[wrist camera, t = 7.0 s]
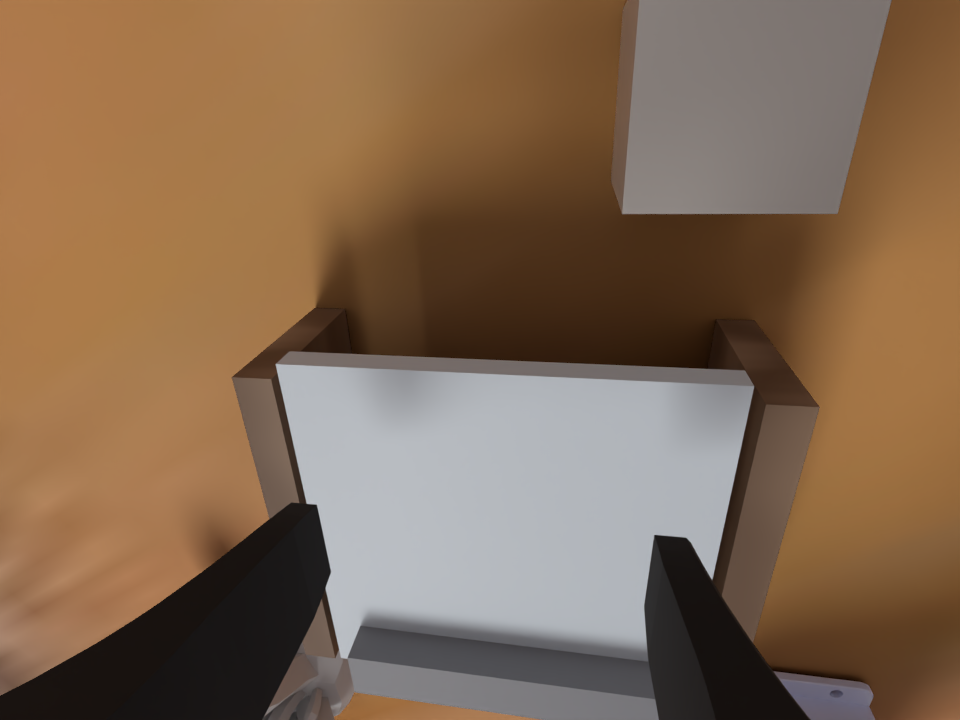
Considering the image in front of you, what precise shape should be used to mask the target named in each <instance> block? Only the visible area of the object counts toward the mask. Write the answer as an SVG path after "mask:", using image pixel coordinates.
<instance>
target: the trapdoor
mask: <svg viewBox="0 0 960 720" xmlns="http://www.w3.org/2000/svg"><path fill="white" fill-rule="evenodd" d="M276 368H277V373H278V377H279V382H280V386H281V391H282V395H283V400H284V404H285V409H286V413H287V418H288V422H289V427H290V431H291V436H292V440H293V445H294V449H295V454H296V458H297V463H298V467H299V472H300V476H301V481H302V485H303V490H304V494H305V498H306V503H307V504H315V505H317V508H318V512H319V517H320V522H321V526H322V531H323V536H324V541H325V545H326V550H327V555H328V559H329V564H330V569H331V574H330V577H329V580H328V582H327V585H326V593H327V597H328V602H329V606H330V611H331V615H332V620H333V624H334V628H335V633H336V637H337V642H338V646H339V651H340V655H341V658H345V659H348V663H349V668H350V672H351V677H352V681H353V686H354V691H355V692H357V693H364V694H370V695H377V696H384V697H391V698H398V699H405V700H412V701H419V702H425V703H432V704H439V705H446V706H453V707H460V708H467V709H474V710H481V711H487V712H494V713H501V714H508V715H515V716H522V717H529V718H536V719H542V720H659V717H658V712H657V706H656V701H655V695H654V690H653V684H652V679H651V673H650V667H649V661H648V653H647V640H646V627H645V613H644V603H645V596H646V589H647V582H648V575H649V568H650V561H651V554H652V547H653V540H654V535H663V536H674V537H685V538H687V539H688V540H689V541H690V542H691V544H692V545H693V547H694V549H695V551H696V553H697V555H698V557H699V558H700V560H701V562H702V564H703V565H704V567H705V569H706V571H707V572H708V574H709V576H710V577H711V579H713V575H714V570H715V565H716V561H717V556H718V552H719V547H720V542H721V538H722V533H723V528H724V524H725V519H726V515H727V510H728V505H729V501H730V496H731V492H732V487H733V482H734V478H735V473H736V468H737V464H738V459H739V455H740V450H741V445H742V441H743V436H744V431H745V427H746V422H747V418H748V413H749V408H750V404H751V399H752V395H753V390H754V385H753V383H752V382H751V380H750V378H749V376H748V375H747V373H746V371H745V370H722V369H698V368H674V367H650V366H626V365H603V364H579V363H555V362H531V361H508V360H484V359H460V358H436V357H413V356H389V355H365V354H341V353H317V352H294V351H289V352H288V353H287V354H286V355H285V356H284V357H283V358H282V359H281V360H280V361H278V362H277V363H276Z"/></svg>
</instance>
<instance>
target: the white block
mask: <svg viewBox="0 0 960 720" xmlns="http://www.w3.org/2000/svg"><path fill="white" fill-rule="evenodd" d="M890 4H891V0H627V2H626V4H625V5H624V7H623V14H622V29H621V43H620V57H619V72H618V86H617V100H616V115H615V129H614V143H613V158H612V172H611V183H612V186H613V189H614V192H615V195H616V198H617V201H618V204H619V206H620V209H621V212H622V214H838V210H839V206H840V202H841V198H842V194H843V190H844V186H845V182H846V178H847V174H848V170H849V166H850V162H851V159H852V155H853V151H854V147H855V143H856V139H857V135H858V131H859V127H860V123H861V119H862V115H863V111H864V107H865V103H866V99H867V95H868V91H869V87H870V83H871V79H872V75H873V71H874V67H875V64H876V60H877V56H878V52H879V48H880V44H881V40H882V36H883V32H884V28H885V24H886V20H887V16H888V12H889V8H890Z"/></svg>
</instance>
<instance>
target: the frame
mask: <svg viewBox="0 0 960 720" xmlns="http://www.w3.org/2000/svg"><path fill="white" fill-rule="evenodd" d="M289 351H294V352H317V353H341V354H352V351H351V344H350V338H349V331H348V325H347V318H346V311H345V309H332V308H314V309H313V310H312V311H310V312H309V313H308V314H307V315H306V316H304V317H303V318H302V319H301V320H300V321H299V322H297V323H296V324H295V325H294V326H293V327H291V328H290V329H289V330H288V331H287V332H285V333H284V334H283V335H282V336H281V337H279V338H278V339H277V340H276V341H275V342H273V343H272V344H271V345H270V346H269V347H267V348H266V349H265V350H264V351H263V352H261V353H260V354H259V355H258V356H257V357H255V358H254V359H253V360H252V361H251V362H250V363H248V364H247V365H246V366H245V367H244V368H242V369H241V370H240V371H239V372H238V373H236V374H235V375H234V376H233V377H232V380H233V383H234V387H235V391H236V395H237V398H238V402H239V406H240V410H241V413H242V417H243V421H244V425H245V428H246V432H247V436H248V440H249V443H250V447H251V451H252V455H253V458H254V462H255V466H256V470H257V474H258V477H259V481H260V485H261V489H262V492H263V496H264V500H265V504H266V507H267V511H268V515H269V519H270V518H272V517H273V516H274V515H276V514H277V513H278V512H279V511H281V510H282V509H283V508H285V507H286V506H287V505H289V504H290V503H291V502H292V503H303V504H307V503H306V498H305V494H304V490H303V485H302V481H301V476H300V472H299V467H298V463H297V458H296V454H295V449H294V445H293V440H292V436H291V431H290V427H289V422H288V418H287V413H286V409H285V404H284V400H283V395H282V391H281V386H280V382H279V377H278V373H277V368H276V363H277V362H278V361H280V360H281V359H282V358H283V357H284V356H285V355H286V354H287V353H288V352H289ZM708 369H722V370H745V371H746V373H747V375H748V376H749V378H750V380H751V382H752V383H753V385H754V390H753V395H752V399H751V404H750V408H749V413H748V418H747V422H746V427H745V431H744V436H743V441H742V445H741V450H740V455H739V459H738V464H737V468H736V473H735V478H734V482H733V487H732V492H731V496H730V501H729V505H728V510H727V515H726V519H725V524H724V528H723V533H722V538H721V542H720V547H719V552H718V556H717V561H716V565H715V570H714V575H713V579H712V581H713V583H714V584H715V586H716V587H717V589H718V591H719V592H720V594H721V596H722V597H723V599H724V600H725V602H726V604H727V605H728V607H729V608H730V610H731V611H732V613H733V614H734V616H735V617H736V619H737V620H738V622H739V623H740V625H741V626H742V628H743V629H744V631H745V632H746V634H747V635H748V637H749V638H750V640H751V641H752V643H753V641H754V638H755V634H756V631H757V627H758V624H759V620H760V616H761V613H762V609H763V606H764V602H765V599H766V595H767V592H768V588H769V585H770V581H771V578H772V574H773V570H774V567H775V563H776V560H777V556H778V553H779V549H780V546H781V542H782V539H783V535H784V532H785V528H786V525H787V521H788V517H789V514H790V510H791V507H792V503H793V500H794V496H795V493H796V489H797V486H798V482H799V479H800V475H801V471H802V468H803V464H804V461H805V457H806V454H807V450H808V447H809V443H810V440H811V436H812V433H813V429H814V425H815V422H816V418H817V415H818V411H819V408H820V407H819V406H818V404H817V403H816V402H815V400H814V399H813V398H812V396H811V395H810V394H809V392H808V391H807V390H806V388H805V387H804V386H803V384H802V383H801V382H800V380H799V379H798V378H797V376H796V375H795V374H794V372H793V371H792V370H791V368H790V367H789V366H788V364H787V363H786V362H785V360H784V359H783V358H782V356H781V355H780V354H779V352H778V351H777V350H776V348H775V347H774V346H773V344H772V343H771V342H770V340H769V339H768V338H767V336H766V335H765V334H764V332H763V331H762V330H761V328H760V327H759V326H758V324H757V323H756V322H755V320H720V319H716V322H715V328H714V334H713V340H712V346H711V352H710V357H709V363H708ZM302 643H303V647H304V650H305V654H306V655H313V656H320V657H327V658H336V656H337V653H338V651H339V646H338V642H337V637H336V633H335V628H334V624H333V620H332V615H331V611H330V606H329V602H328V597H327V593H326V588H325V591H324V594H323V597H322V599H321V602H320V605H319V607H318V610H317V612H316V615H315V617H314V620H313V622H312V624H311V626H310V628H309V630H308V632H307V634H306V636H305V638H304V640H303V642H302Z"/></svg>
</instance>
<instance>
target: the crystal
mask: <svg viewBox="0 0 960 720" xmlns="http://www.w3.org/2000/svg"><path fill="white" fill-rule="evenodd" d="M353 693H354V686H353V681H352V677H351V672H350V668H349V663H348V659H345V658H341V655H340V651H338V653H337V656H336V658H327V657H320V656H313V655H306V654H305V650H304V647H303V643H302V644H301V646H300V648H299V649H298V651H297V653H296V655H295V657H294V659H293V661H292V663H291V665H290V667H289V669H288V671H287V673H286V675H285V677H284V679H283V681H282V683H281V685H280V686H279V688H278V690H277V692H276V694H275V696H274V698H273V700H272V702H271V704H270V706H269V708H268V710H267V712H266V714H265V716H264V718H263V720H334V716H336V715H339V714H340V713H341V712H342V711H343V709H344V708H345V707H346V706H347V705H348V703H349V702H350V700H351V698H352V696H353Z"/></svg>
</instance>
